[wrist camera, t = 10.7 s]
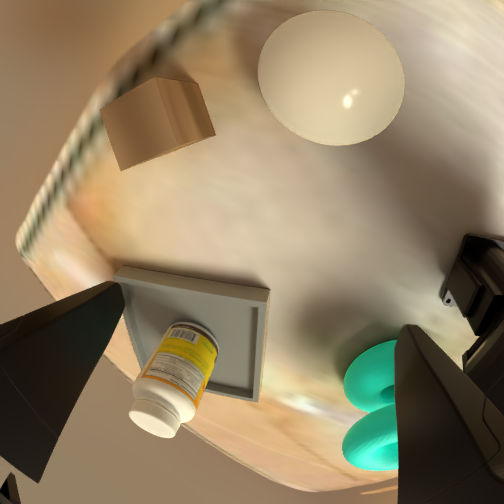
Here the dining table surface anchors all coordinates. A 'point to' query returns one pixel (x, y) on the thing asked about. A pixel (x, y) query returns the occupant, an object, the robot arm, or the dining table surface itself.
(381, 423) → the donuts
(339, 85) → the cream rounded block
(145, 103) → the walnut block
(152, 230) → the dining table surface
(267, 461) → the dining table surface
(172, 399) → the supplement bottle
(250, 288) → the slate tray
